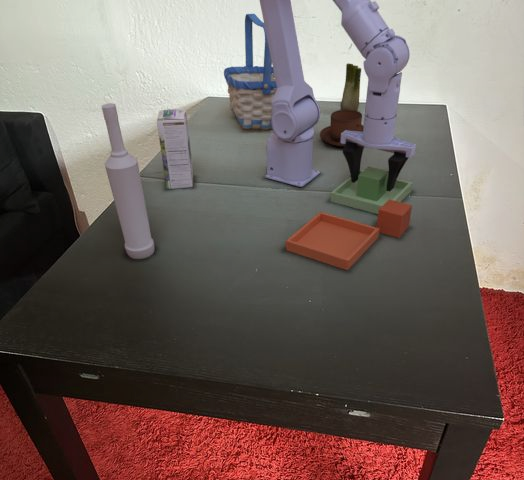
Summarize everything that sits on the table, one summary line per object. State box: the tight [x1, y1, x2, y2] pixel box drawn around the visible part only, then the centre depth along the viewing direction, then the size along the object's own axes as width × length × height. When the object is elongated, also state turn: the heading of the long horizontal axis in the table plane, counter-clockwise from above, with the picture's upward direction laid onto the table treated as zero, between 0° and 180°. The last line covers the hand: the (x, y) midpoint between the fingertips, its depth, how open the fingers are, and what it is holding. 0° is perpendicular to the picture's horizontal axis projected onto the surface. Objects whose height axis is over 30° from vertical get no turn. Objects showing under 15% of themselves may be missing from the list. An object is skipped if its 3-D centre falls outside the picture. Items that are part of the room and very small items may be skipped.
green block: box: [357, 166, 389, 201], centre depth 105 cm, size 4×4×4 cm
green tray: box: [329, 169, 413, 215], centre depth 106 cm, size 12×12×2 cm
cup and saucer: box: [319, 109, 364, 147], centre depth 126 cm, size 12×12×6 cm
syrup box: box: [156, 108, 194, 190], centre depth 109 cm, size 6×6×14 cm
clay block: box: [375, 199, 413, 239], centre depth 95 cm, size 4×4×4 cm
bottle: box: [101, 102, 156, 260], centre depth 86 cm, size 5×5×25 cm
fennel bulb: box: [340, 62, 362, 111], centre depth 138 cm, size 6×5×12 cm
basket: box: [223, 13, 277, 131], centre depth 132 cm, size 21×16×24 cm
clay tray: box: [285, 211, 380, 271], centre depth 93 cm, size 12×12×2 cm
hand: (372, 184), depth 105 cm, fingers open, 7 cm apart
